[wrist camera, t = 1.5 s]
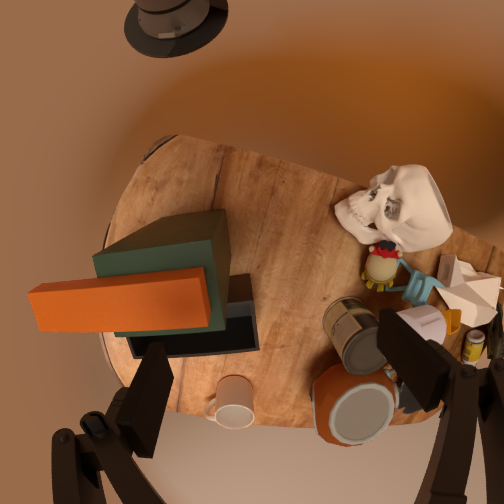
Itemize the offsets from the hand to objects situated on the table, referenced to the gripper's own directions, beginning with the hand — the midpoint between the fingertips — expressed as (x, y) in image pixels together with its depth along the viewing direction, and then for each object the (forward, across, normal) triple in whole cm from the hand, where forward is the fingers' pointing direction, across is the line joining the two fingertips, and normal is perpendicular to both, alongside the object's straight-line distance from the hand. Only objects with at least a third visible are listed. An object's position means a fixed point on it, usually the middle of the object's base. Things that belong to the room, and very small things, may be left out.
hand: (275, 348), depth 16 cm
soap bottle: (+20, +20, -17) cm, 33 cm away
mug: (+39, -10, -37) cm, 54 cm away
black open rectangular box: (+38, -12, -13) cm, 42 cm away
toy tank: (+29, +67, -34) cm, 81 cm away
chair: (+38, +33, -15) cm, 53 cm away
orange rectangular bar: (+10, -14, 0) cm, 18 cm away
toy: (+28, +22, -3) cm, 36 cm away
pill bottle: (+35, +61, -36) cm, 79 cm away
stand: (+39, -10, 0) cm, 40 cm away
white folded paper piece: (+38, +51, -21) cm, 68 cm away
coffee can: (+38, +18, -21) cm, 48 cm away
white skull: (+38, +20, -1) cm, 43 cm away
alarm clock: (+28, +9, -37) cm, 47 cm away
